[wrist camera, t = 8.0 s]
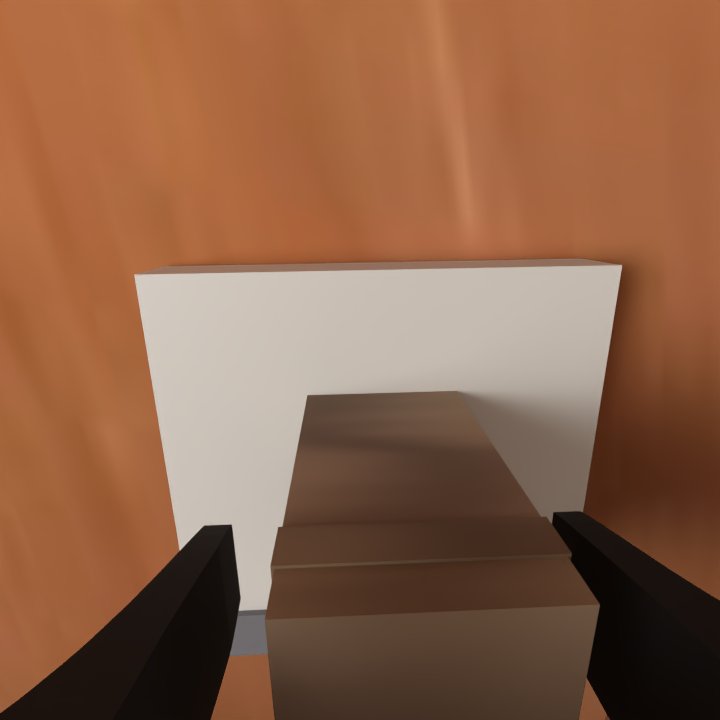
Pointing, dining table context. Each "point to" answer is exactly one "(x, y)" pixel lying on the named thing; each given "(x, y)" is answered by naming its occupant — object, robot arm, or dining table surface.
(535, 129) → the dining table surface
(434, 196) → the dining table surface
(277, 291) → the dock
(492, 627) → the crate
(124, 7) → the dining table surface
